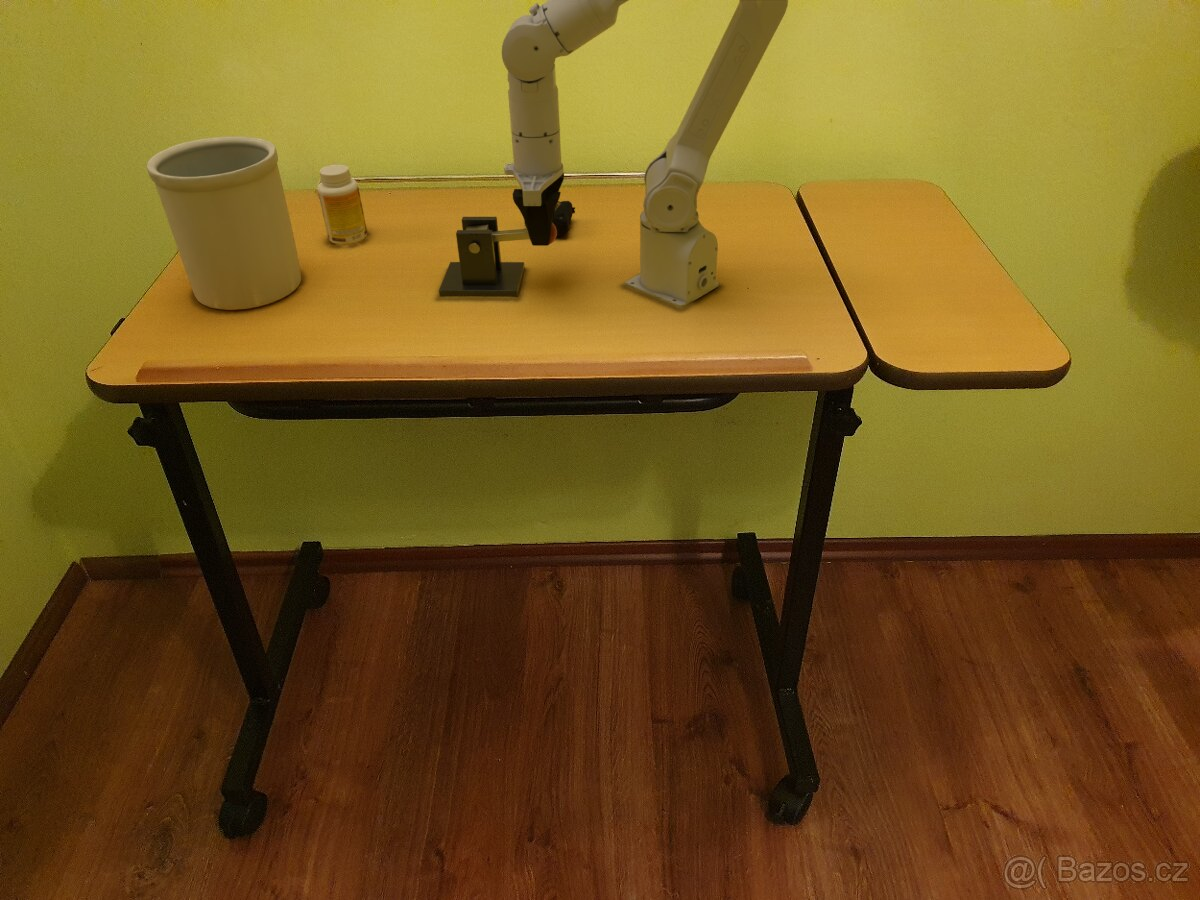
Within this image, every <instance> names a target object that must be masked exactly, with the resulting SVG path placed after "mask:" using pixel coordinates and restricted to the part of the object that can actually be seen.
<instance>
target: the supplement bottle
mask: <svg viewBox="0 0 1200 900" xmlns="http://www.w3.org/2000/svg"><path fill="white" fill-rule="evenodd" d="M319 176H320V181H321V182H320V183H318V185H317V186H316V187H317V194H318V199H319V204H320V208H321V212H322V217H323V221H324V226H325V229H326V234H327V238H328V240H329V241H330V242H331V243H332V244H335V245H342V246H345V245H353V244H356V243H359V242H362V241H363V240H364V239H366V238H367V236H368V229H367V224H366V219H365V213H364V209H363V208H364V207H363V203H362V200H361V194H360V188H359V184H358V181H357V180H355V179H354V178H353V177H351V173H350V168H349V166H348V165H345V164H341V163H339V164H337V163H335V164H329V165H326V166H324V167H321V168H320V169H319Z"/></svg>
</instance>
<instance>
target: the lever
mask: <svg viewBox="0 0 1200 900" xmlns="http://www.w3.org/2000/svg"><path fill="white" fill-rule="evenodd" d="M466 230H489V225H479V226H467V228H466ZM492 234H493V242H499V243H500V242H509V241H510V242H512V241H523V240H524V241H525V240H530V237H529V234H528V230H527V228H519V229H508V230H507V229H506V230H505V229H504V230H498V231H493V232H492ZM557 237H558V236H557V230H556V227H555V225H554V224H553V223H552V229H551V237H550V242H549V245H551V244H553V243H554V242H555V240H556V238H557Z"/></svg>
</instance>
